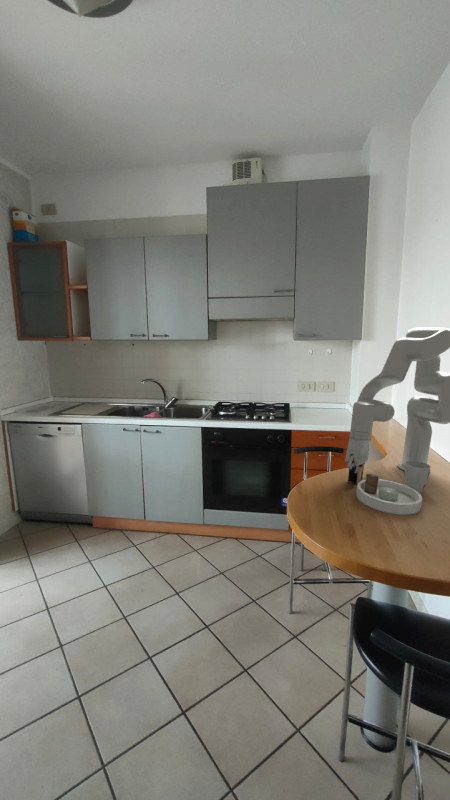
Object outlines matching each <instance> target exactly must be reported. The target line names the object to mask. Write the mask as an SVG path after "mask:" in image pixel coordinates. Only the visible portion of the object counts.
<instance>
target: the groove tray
mask: <svg viewBox="0 0 450 800" xmlns="http://www.w3.org/2000/svg"><path fill="white" fill-rule="evenodd" d="M365 481H366V479H362V480H361V481H360V482H359V483H358V484H357V488H356V494H355V495H356V498H357V500H358V501H359V502H360V503H362V504H363V505H365V506H367V507H369V508H371V509H373V510H375V511H378V512H381V513H382V512H383V513H385V514H391V515H398V516H401V515H402V516H410V515H415V514H417V513H419V512H420V511H421V507H422V504H423V497H422V494H421V493H418V492H417V491H416V490H415V489H412V488H410V487H408V486H406V484H403V483H399V482H396V481H393V480H388V479H387V480H386V479H380V478H378V485H377V493H376V494H368V493H366V492H365V491H364V490H365Z"/></svg>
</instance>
